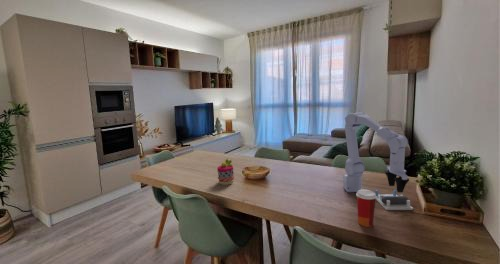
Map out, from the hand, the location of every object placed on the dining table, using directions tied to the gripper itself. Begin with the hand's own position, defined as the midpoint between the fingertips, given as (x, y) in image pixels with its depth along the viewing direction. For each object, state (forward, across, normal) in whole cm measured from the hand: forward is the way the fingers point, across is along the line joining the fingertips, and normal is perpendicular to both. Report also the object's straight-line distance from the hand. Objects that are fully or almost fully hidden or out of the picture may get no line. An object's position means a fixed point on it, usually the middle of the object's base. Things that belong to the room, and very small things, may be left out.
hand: (395, 188), depth 114 cm
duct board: (+9, +3, 0) cm, 9 cm away
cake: (+9, +34, +89) cm, 96 cm away
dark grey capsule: (+8, 0, 0) cm, 8 cm away
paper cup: (+9, -16, +20) cm, 27 cm away
